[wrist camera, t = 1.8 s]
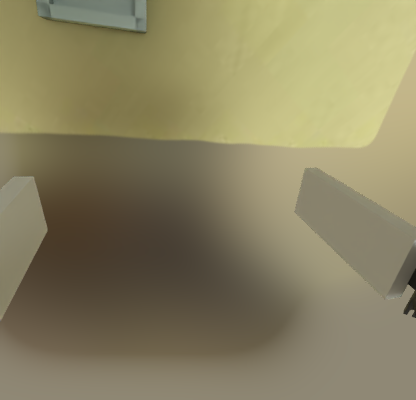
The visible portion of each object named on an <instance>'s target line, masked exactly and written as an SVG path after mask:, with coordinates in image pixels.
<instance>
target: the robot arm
mask: <svg viewBox="0 0 416 400" xmlns="http://www.w3.org/2000/svg"><path fill="white" fill-rule="evenodd" d="M295 213H296V214H297V215H298V216H299V217H300V218H301V219H302V220H303V221H304V222H305V223H306V224H307V225H308V226H309V227H310V228H311V229H312V230H313V231H315V233H317V234H318V235H319V236H320V237H321V238H322V239H323V240H324V241H325V242H326V243H327V244H328V245H329V246H330V247H331V248H332V249H333V250H334V251H335V252H336V253H337V254H338V255H339V256H340V257H341V258H342V259H343V260H345V262H346V263H348V264H349V265H350V266H351V267H352V268H353V269H354V270H355V271H356V272H357V273H358V274H359V275H360V276H361V277H362V278H363V279H364V280H365V281H366V282H367V283H368V284H369V285H370V286H371V287H372V288H373V289H374V290H375V291H376V292H377V293H379V294H380V295H381V296H382V297H383V298H384V299H391V298H397V297H401V296H402V294H403V292H404V291H405V289H406V287H407V285H408V284H409V285H410V286H411V287H412V288H413V289H414V290H415V291H414V293H413V295H412V297H411V298H410V300H409V302H408V304H407V306H406V307H405V309H404V314H406V315H407V314H408V312H409V311H410V310H414V311H415V312H414V313H413V315H412V317H415V318H416V227H415V226H413V225H411V224H410V223H408V222H407V221H405V220H403V219H402V218H400V217H398V216H397V215H395V214H393V213H392V212H390V211H388V210H387V209H385V208H383V207H382V206H380V205H378V204H377V203H375V202H373V201H372V200H370V199H368V198H367V197H365V196H363V195H361V194H360V193H358V192H357V191H355V190H353V189H352V188H350V187H348V186H347V185H345V184H343V183H342V182H340V181H338V180H336V179H335V178H333V177H332V176H330V175H328V174H327V173H325V172H323V171H322V170H320V169H318V168H305V170H304V175H303V179H302V183H301V187H300V191H299V195H298V200H297V204H296V208H295ZM46 232H47V226H46V222H45V218H44V215H43V211H42V207H41V202H40V199H39V195H38V191H37V187H36V183H35V179H34V176H28V177H13V178H12V179H11V180H10V181H8V182H7V183H6V184H5V185H4V186H3V187H2V188H1V189H0V321H1V319H2V317H3V315H4V313H5V311H6V309H7V307H8V305H9V303H10V302H11V299H12V298H13V296H14V294H15V292H16V290H17V288H18V286H19V284H20V282H21V280H22V278H23V276H24V275H25V273H26V271H27V269H28V267H29V265H30V263H31V261H32V259H33V257H34V255H35V253H36V252H37V250H38V248H39V246H40V244H41V242H42V240H43V238H44V236H45V234H46Z"/></svg>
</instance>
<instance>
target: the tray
mask: <svg viewBox="0 0 416 400" xmlns="http://www.w3.org/2000/svg"><path fill="white" fill-rule="evenodd" d="M36 3H37V10H38V16H40V17H42V18H45V19H48V20H55V21H62V22H69V23H76V24H83V25H90V26H97V27H104V28H111V29H118V30H125V31H132V32H139V33H146V0H36Z"/></svg>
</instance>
